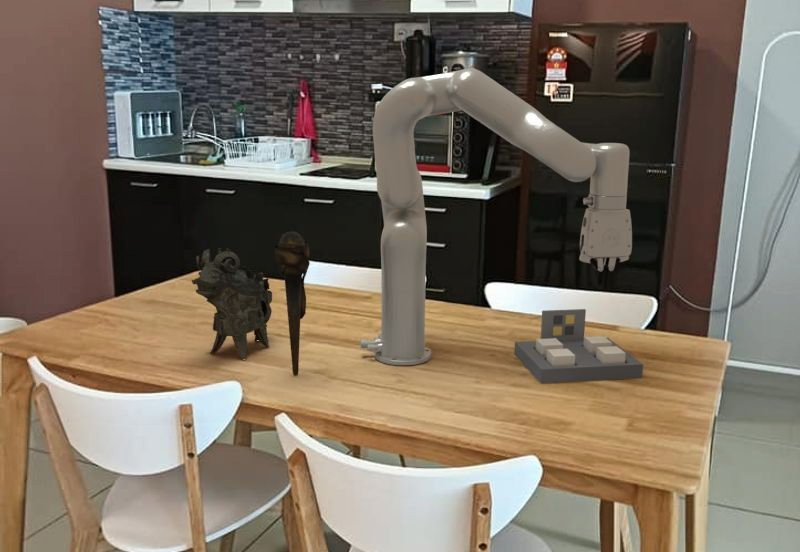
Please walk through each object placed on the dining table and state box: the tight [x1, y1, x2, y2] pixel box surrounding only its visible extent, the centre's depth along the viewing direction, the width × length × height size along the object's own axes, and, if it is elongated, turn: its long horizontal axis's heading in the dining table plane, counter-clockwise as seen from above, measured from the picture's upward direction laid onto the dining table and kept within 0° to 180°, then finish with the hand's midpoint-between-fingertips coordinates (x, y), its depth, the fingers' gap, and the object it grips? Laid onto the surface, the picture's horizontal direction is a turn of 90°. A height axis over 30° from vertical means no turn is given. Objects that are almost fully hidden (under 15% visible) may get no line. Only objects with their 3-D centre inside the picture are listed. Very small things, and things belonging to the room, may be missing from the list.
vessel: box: [191, 247, 273, 360], centre depth 183 cm, size 11×25×24 cm, turn 155°
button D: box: [583, 335, 612, 353], centre depth 181 cm, size 4×4×2 cm
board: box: [513, 337, 644, 384], centre depth 179 cm, size 22×18×3 cm
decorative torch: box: [274, 231, 311, 376], centre depth 169 cm, size 7×7×30 cm
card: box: [540, 308, 587, 341], centre depth 186 cm, size 10×1×7 cm, turn 100°
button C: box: [535, 338, 563, 355], centre depth 179 cm, size 4×4×2 cm
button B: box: [596, 346, 626, 364], centre depth 174 cm, size 4×4×2 cm
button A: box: [546, 349, 575, 367], centre depth 173 cm, size 4×4×2 cm
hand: (602, 287), depth 178 cm, fingers closed
